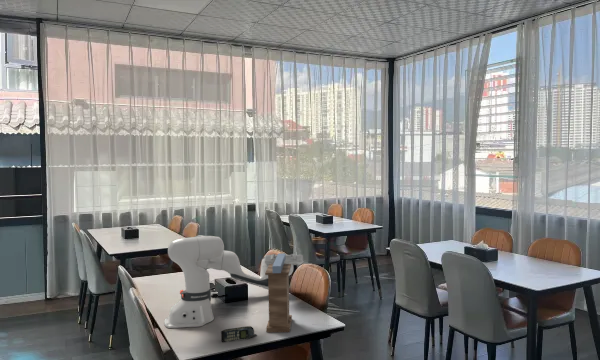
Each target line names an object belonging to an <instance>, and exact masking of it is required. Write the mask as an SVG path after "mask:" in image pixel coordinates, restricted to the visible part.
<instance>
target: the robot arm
mask: <svg viewBox="0 0 600 360" xmlns="http://www.w3.org/2000/svg"><path fill="white" fill-rule="evenodd" d="M167 255H168V258H169V259H170V260H171V261H172V262H174V263H175V264H177V265H178V266H179V267H180V268H181V270H182V272H183V275H184V284H185V285H184V286H185V290H184V289H181V290H180V291H179V294H180V295H181V296H180V300H178V301H177V302H176V303H175V304H173V305H172V306H171V308H170V310H169V314H168V316H167V317H165V319H164V322H163V324H164V327H165V328H168V329H177V328H194V327H195V328H197V327H202V326H205V325H206V324H208V323H210V322H212V321H213V320H214V319H215V317H214V316H215V315H214V313H213V310H212V309H213V307H212V304H211V302H212V298H211V289H210V281H211V280H210V272H209V271H208V269H210V270H211V269H212V270H216V271H221V272H222V271H224V272H226V273H227V274H229V276H230V277H231V278H232V279H234V280H237V281H240V282H243V283H246V284H249V285H253V286H257V287H259V288H262V289H265V290H266V291H267V290H268V275H265V272H266V270H267V268H268V266H269V264H274V262H275V259H276V257H277V255H278V254H276V253H273V254H266V255H264V256H263V258H262V259H261V263H260V274H259V277H257V276H254V275H250V274H247V273H245V272H244V271H243V268H242V266H241V263H240V258H239V256H238V255H237V253H235V252H234V251H231V250H225V245H224V241H223V239H222V238H221V237H220V236H213V235H201V234H200V235H196V236H192V237H191V236H190V237H182V238H177V239H175V240H172V241H171V242H170V243H169V245H168V248H167ZM285 257H286V260H285V263H284V264H291V268H290V271H289V276H290V275H292V274H293V272H294V266H301V265H303V264H304V262H305V261H304V256H303V254H294V253H291V254H287V253H285Z"/></svg>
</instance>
